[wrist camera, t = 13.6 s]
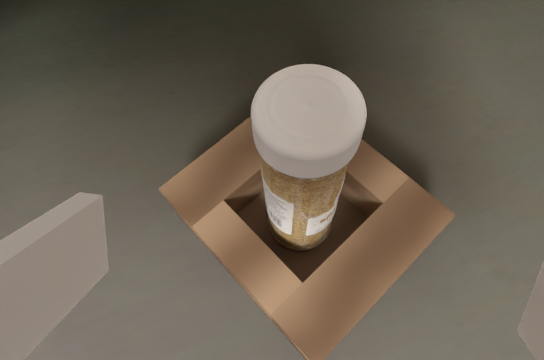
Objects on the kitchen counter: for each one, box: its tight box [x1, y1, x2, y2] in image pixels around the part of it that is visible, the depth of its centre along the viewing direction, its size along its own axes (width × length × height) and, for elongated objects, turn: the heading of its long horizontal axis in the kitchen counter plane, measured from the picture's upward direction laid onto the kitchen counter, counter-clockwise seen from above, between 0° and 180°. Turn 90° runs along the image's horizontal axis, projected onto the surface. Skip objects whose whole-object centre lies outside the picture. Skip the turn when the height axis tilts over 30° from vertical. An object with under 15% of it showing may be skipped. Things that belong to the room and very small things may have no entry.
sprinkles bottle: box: [251, 64, 367, 251], centre depth 21 cm, size 5×5×14 cm
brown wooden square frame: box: [159, 116, 456, 360], centre depth 26 cm, size 14×12×5 cm
